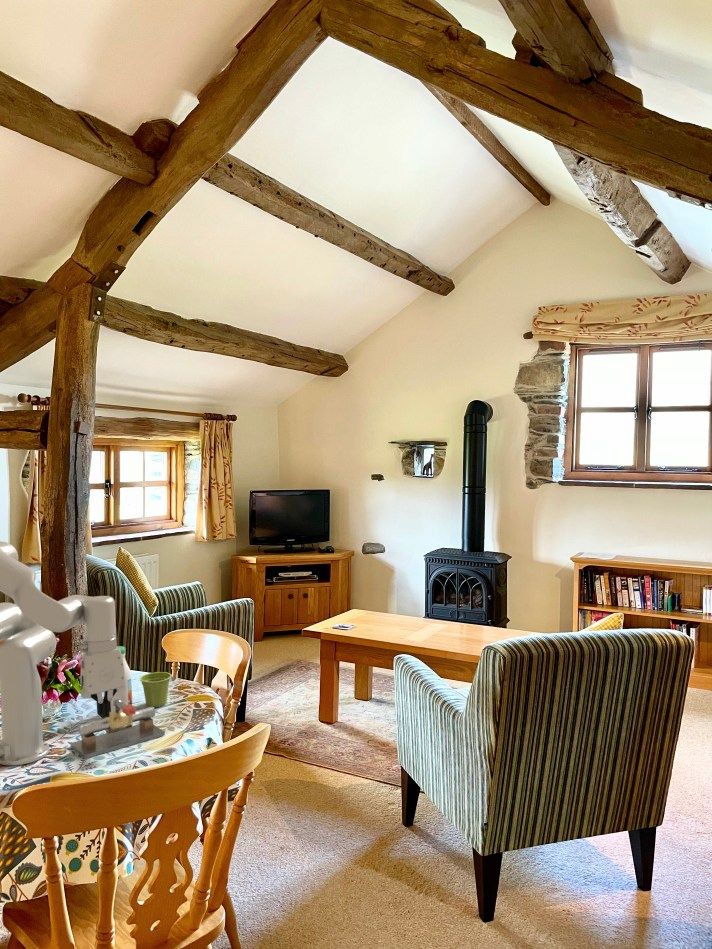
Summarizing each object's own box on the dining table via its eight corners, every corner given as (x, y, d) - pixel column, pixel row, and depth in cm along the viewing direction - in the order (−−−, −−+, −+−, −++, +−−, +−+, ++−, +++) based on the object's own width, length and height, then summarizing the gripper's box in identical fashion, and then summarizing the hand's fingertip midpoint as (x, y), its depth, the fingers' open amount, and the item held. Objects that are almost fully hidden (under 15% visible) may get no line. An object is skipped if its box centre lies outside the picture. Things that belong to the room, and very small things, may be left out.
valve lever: (112, 705, 190) (111, 699, 190) (120, 703, 192) (119, 697, 192) (127, 716, 183) (127, 709, 183) (135, 714, 184) (135, 707, 184)
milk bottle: (123, 720, 205) (122, 652, 205) (99, 718, 207) (98, 650, 206) (137, 710, 213) (135, 644, 212) (113, 708, 215) (112, 643, 214)
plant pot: (155, 712, 211) (154, 683, 211) (134, 706, 216) (133, 678, 216) (178, 702, 219) (177, 674, 219) (157, 697, 224) (156, 670, 224)
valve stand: (84, 759, 179) (83, 721, 179) (70, 746, 187) (69, 710, 187) (164, 735, 194) (163, 700, 194) (148, 724, 201) (148, 691, 201)
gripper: (76, 654, 172) (80, 728, 172) (135, 642, 182) (138, 712, 182) (66, 648, 177) (69, 720, 178) (123, 637, 187) (126, 705, 188)
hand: (104, 716), depth 180 cm, fingers closed
